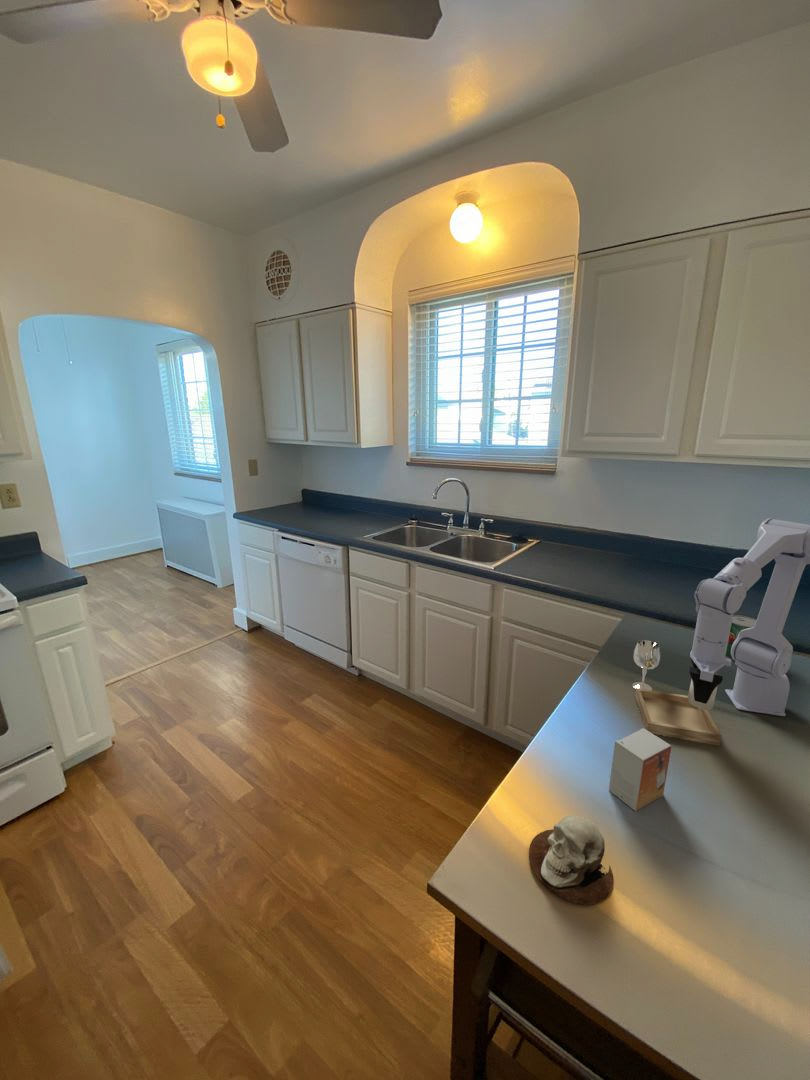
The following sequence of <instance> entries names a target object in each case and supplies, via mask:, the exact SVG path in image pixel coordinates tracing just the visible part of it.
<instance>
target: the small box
mask: <svg viewBox="0 0 810 1080" xmlns="http://www.w3.org/2000/svg"><path fill="white" fill-rule="evenodd" d="M671 751H672V745H671V744H670V743H668V742H667V741H665V740H663V739H662V738H660V737H659V736H658V735H654V734H652V733H651V732H649V731H647V730H646V729H645V727H642V728H640V729H639V730H637V731H635V732H633V733H631V734H629V735H626V736H625V737H623V738H620V739H617V740H615V741H614V747H613V754H612V762H611V770H610V777H609V778H610V779H609V786H608V791H610V792H611V793H612V794H613V795H615V796H616V797H618V799H619V800H621V801H622V802H623V803H625V804H626V805H627V806H629V807H630V808H631V809H632V810H633V811H635V812H637V811H639V810H640V809H642V808H644V807H645V806H646V805H648V804H650V803H652V802H654V801H655V800H657V799H659V798H660V797H663V796H664V794H665V793H664V792H665V786H666V780H667V775H668V770H669V769H668V768H669V764H670V757H671Z"/></svg>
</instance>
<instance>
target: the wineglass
mask: <svg viewBox="0 0 810 1080" xmlns="http://www.w3.org/2000/svg"><path fill="white" fill-rule="evenodd" d="M633 661H634V663H635V664H636V666H638V667H640V668H642V679H641V681H636V682H633V683H632V685H631V686H632V688H633V689H635V690H636V688H638V689H644V690H651V691H653V688H652V686H650V685H649V684H647V683H645V677H646V674H647V672H648V670H654V669H655V668H657V667H658V666H659V663H660V661H661V651H660V645H659V644H658V643H656V642H655V641H652V640H649V639H648V640H647V639H640V640H638V641H637V643H636V645H635V647H634V650H633Z"/></svg>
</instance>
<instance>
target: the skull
mask: <svg viewBox="0 0 810 1080" xmlns="http://www.w3.org/2000/svg"><path fill="white" fill-rule="evenodd" d="M604 855H605V839H604V836H603V835H602V833H601V831H600V829H599V828H598V827H597V825H596V824H595V823H593V822H592V821H591V820H589V819H587V818H586V817H583V816H580V815H577V814H568V815H566V816H565V817H563V818H562V819H561V820H559V822H557V823H556V824H555V825H553V829H547V830H544V831H541V832H538V833H537V834H536V835H535V836H534V837H533V839H531V841H530V845H529V847H528V858H529V861H530V862H529V863H530V865H531V868H532V869H533V871H534V873H535V875H536V876H537V878H538V879H539V880H540V882H541V883H542V884H543V885H544V886H545V887H546V888H547V889H548V890H549V891H551V892H552V893H554V894H555V895H557V896H559V897H560V898H562V899H564V900H566V901H569V902H571V903H573V904H575V903H576V904H578V905H579V904H580V905H585V906H587V905H593V904H594V905H595V904H598V903H601V902H602V901H605V900H606V899H607V898H608V897H609V896H610V895H611V893H612V890H613V888H614V874H613V870H612V868H611V865H610V864H608V865H609V866H608V867H609V868H608V872H607V871H605V872H603V871H601V870H602V868H603V870H606V868H605V867H604V865H602V861H603V859H604Z"/></svg>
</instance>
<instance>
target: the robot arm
mask: <svg viewBox="0 0 810 1080" xmlns="http://www.w3.org/2000/svg"><path fill="white" fill-rule="evenodd" d="M756 535H757V536H756V541H755V543H754V544H753V545H752V546H751V548H750V549H749V550H748V551H747V553H746V554H745V555H744V556H743V557H736V558H733V559H732V560H731V561H730V562H729V563H728V564H727V565H725V567H723V568H722V569H721V570H720V571H719V572H718V573H717V574H715V576H714V577H713V578H711V577H709V578H707V579H703V580H701V581H700V582H699V584H698V585H697V586H696V590H695V591H694V597H693V598H694V601H695V604H696V605H695V612H696V613H697V618H696V625H695V630H694V636H693V642H692V646H691V647H692V649H691V651H690V652H689V653H690V654H689V657H690V658H689V659H690V661H691V663H692V666H689V675H690V678H691V679H692V681H693V686H694V700H695V701H697V702H701V703H704V704H706V703H707V702H708V700H709V698H710V696H711V694H712V692H713V690H714V689H715V688H716V687H717V686H718V687H719V685H720V684H722V682H723V679H724V678H723V676H722V675H719V674H718V675H715V674H714V673H716V674H717V672H718V671H719V670H720V669H721V668H723V667H724V666H726V667H731V666H732V660H730V659H728V658H726V657H725V655H726V650H727V645H728V639H729V634H730V629H731V624H732V619H733V615H734V614H735V613H736V612H738V611H739V609H740V608H741V606H742V604H743V602H744V600H745V599H746V597H747V591H749V590H750V589H751V588H752V587H753V586H754V585H755V584H756V583H757V582H758V581H759V580H760V578H762V568H764V567H765V566H766V565H767V564H769V563H770V562H771V561H772V560H774V562H775V564H774V568H773V571H772V574H771V577H770V580H769V583H768V585H767V588H766V592H765V595H764V597H763V599H762V602H761V603H762V604H761V606H760V610H759V612H758V614H757V618H756V619H755V620H756V623H755V626H754V627H752V628H747V629H744V630H741V631H740V632H739V634H738V637H737V639H736V640H735V641H734V643H733V645H732V647H731V655H732V658H733V659H734V660H736V661H734V665H736V666H737V668H736V674H735V678H734V679H735V680H734V684H733V688H732V689H727V688H726V689H725V690H724V691H725V693H726V694H727V697H729V699H730V701H731V702H732V703H733V705H734V707H735V709H737V710H739V711H740V710H741V711H746V712H754V713H760V714H764V715H765V714H766V715H773V716H779V717H786V715H787V714H786V712H785V711H786V708H787V707H786V706H787V702H788V698H789V694H790V688H791V687H790V681H789V677H788V676H787V672H788V671H789V669H790V668H791V665H792V655H793V652H794V646H793V645H792V644H791V643H790V642H789V640H788V639H787V638H786V637H785V636H784V635H783V633H782V632H783V630H784V627H785V625H786V622H787V618H788V615H789V614H790V613H789V612H790V611H791V606H792V605H793V601H794V598H795V595H796V592H797V589H798V586H799V584H800V581H801V578H802V575H803V572H804V570H805V567H806V565H810V524H807V523H800V522H795V521H786V520H781V519H775V518H772V517H770V518H769V517H768V518H766V519H765V520H763V521H762V522H761V523H760V525H759V527H758V530H757V534H756ZM751 638H752V639H751ZM753 639H755V640H753ZM756 640H758V641H756ZM697 668H699V669H697ZM718 687H717V688H718Z"/></svg>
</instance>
